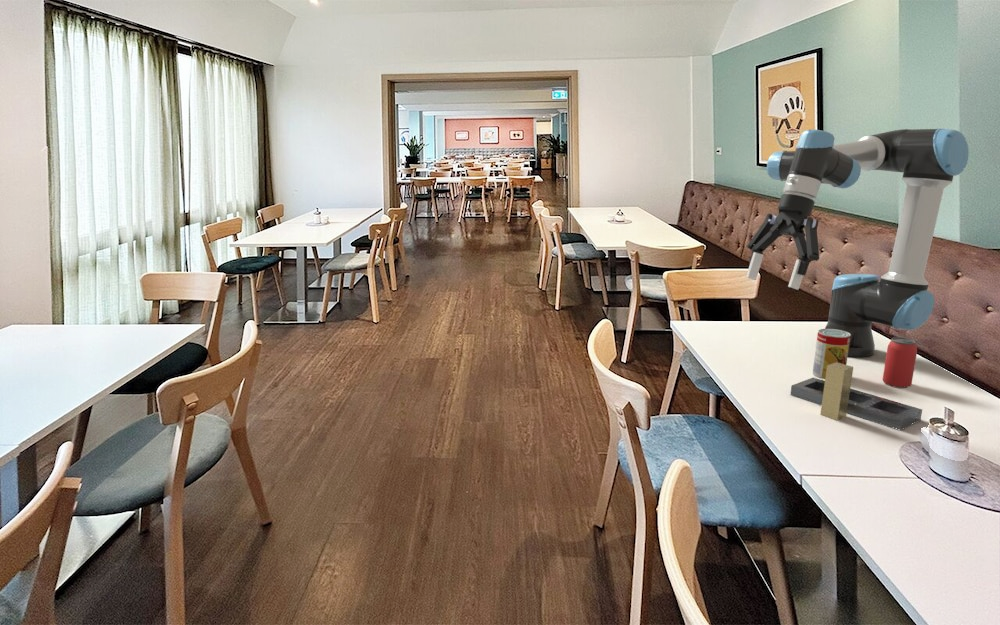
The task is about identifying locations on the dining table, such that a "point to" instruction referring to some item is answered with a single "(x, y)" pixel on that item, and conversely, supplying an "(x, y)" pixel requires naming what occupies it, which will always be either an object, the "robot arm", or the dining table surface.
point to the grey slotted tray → (862, 404)
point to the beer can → (900, 362)
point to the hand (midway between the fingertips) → (771, 283)
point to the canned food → (830, 350)
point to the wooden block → (836, 391)
